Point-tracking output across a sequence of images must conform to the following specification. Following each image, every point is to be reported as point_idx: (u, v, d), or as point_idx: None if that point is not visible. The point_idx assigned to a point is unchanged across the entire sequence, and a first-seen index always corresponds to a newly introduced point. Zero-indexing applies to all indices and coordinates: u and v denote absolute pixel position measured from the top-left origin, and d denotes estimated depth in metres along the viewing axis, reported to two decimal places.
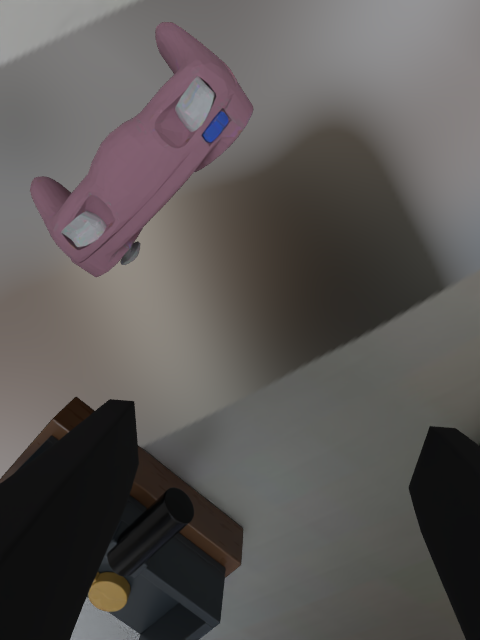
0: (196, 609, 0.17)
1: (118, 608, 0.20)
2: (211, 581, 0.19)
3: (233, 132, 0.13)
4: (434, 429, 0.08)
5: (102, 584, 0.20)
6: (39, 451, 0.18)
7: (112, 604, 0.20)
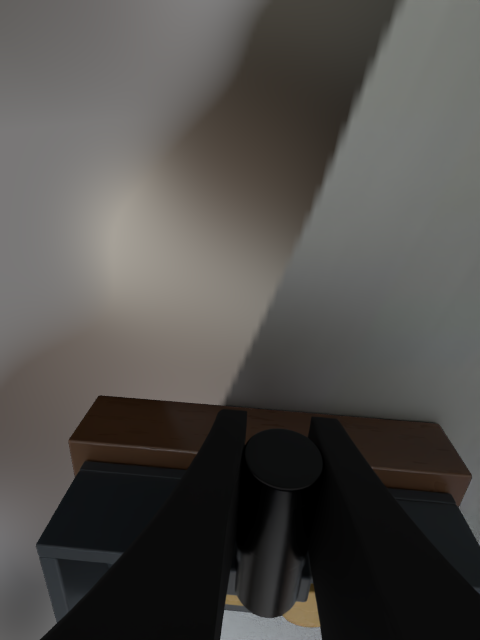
0: None
1: None
2: (442, 528, 0.11)
3: None
4: (313, 419, 0.08)
5: None
6: (70, 493, 0.11)
7: None
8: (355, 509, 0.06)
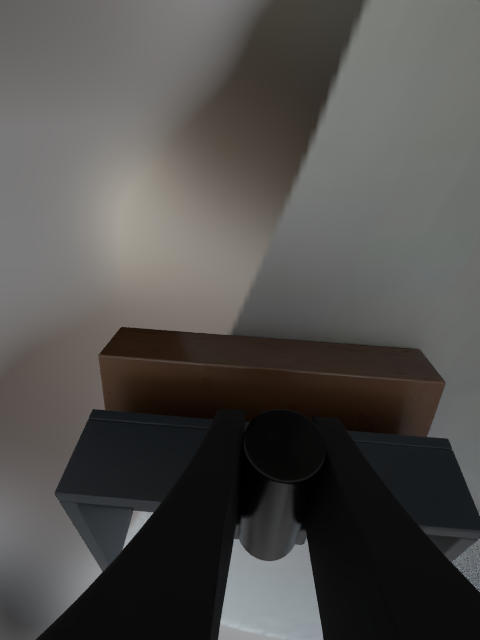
0: (433, 531, 0.10)
1: None
2: (435, 473, 0.11)
3: None
4: (314, 419, 0.08)
5: None
6: (81, 442, 0.12)
7: None
8: (357, 509, 0.06)
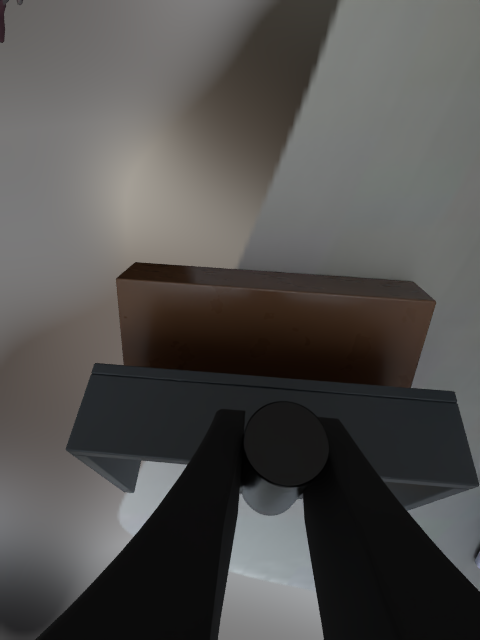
0: (428, 483, 0.11)
1: None
2: (437, 427, 0.11)
3: None
4: None
5: None
6: (86, 398, 0.12)
7: None
8: (357, 509, 0.06)
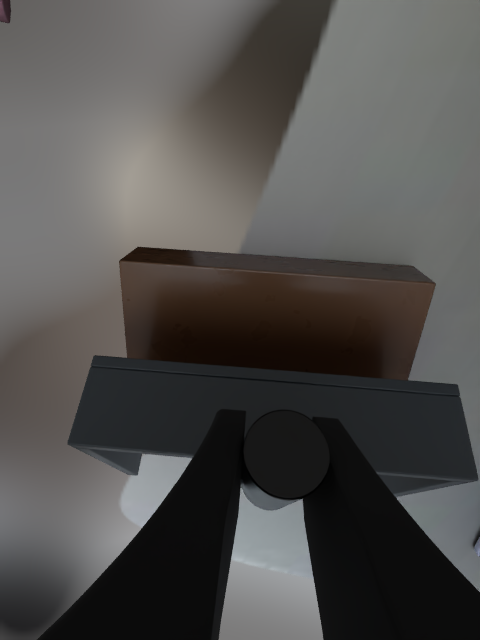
0: (427, 477, 0.11)
1: None
2: (438, 421, 0.11)
3: None
4: (314, 419, 0.08)
5: None
6: (86, 391, 0.12)
7: None
8: (357, 509, 0.06)
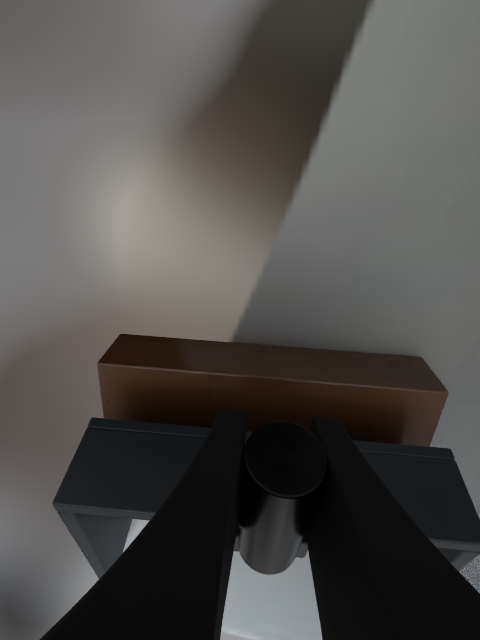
0: (436, 543, 0.10)
1: None
2: (437, 484, 0.11)
3: None
4: (313, 419, 0.08)
5: None
6: (80, 451, 0.11)
7: None
8: (356, 509, 0.06)
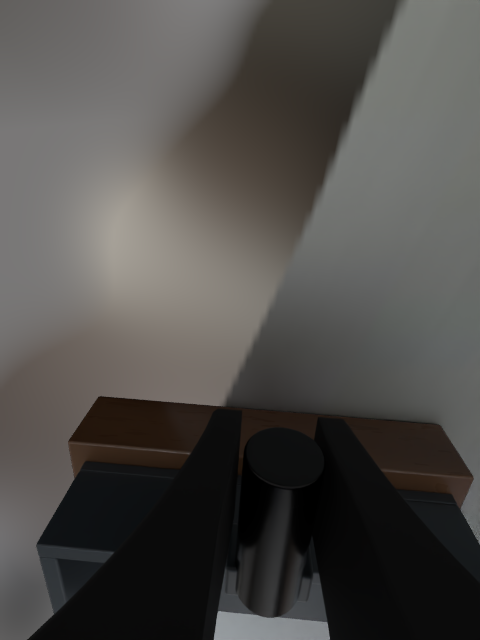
0: None
1: None
2: (442, 528, 0.11)
3: None
4: (319, 420, 0.08)
5: None
6: (70, 493, 0.11)
7: None
8: (365, 510, 0.06)
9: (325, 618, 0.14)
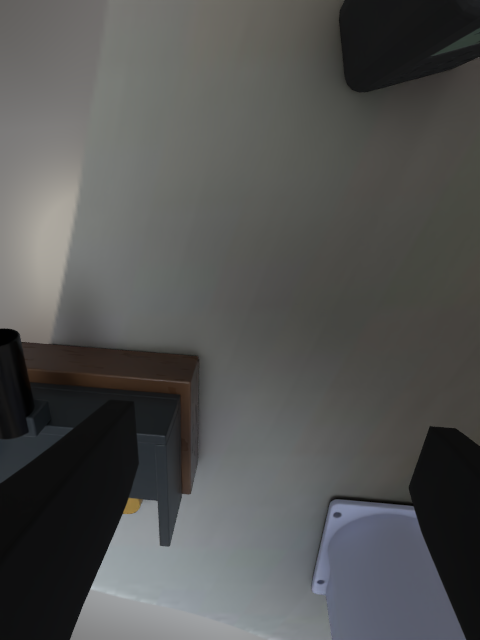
0: None
1: None
2: (155, 409, 0.17)
3: None
4: (434, 429, 0.08)
5: None
6: None
7: None
8: None
9: None
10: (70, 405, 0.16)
